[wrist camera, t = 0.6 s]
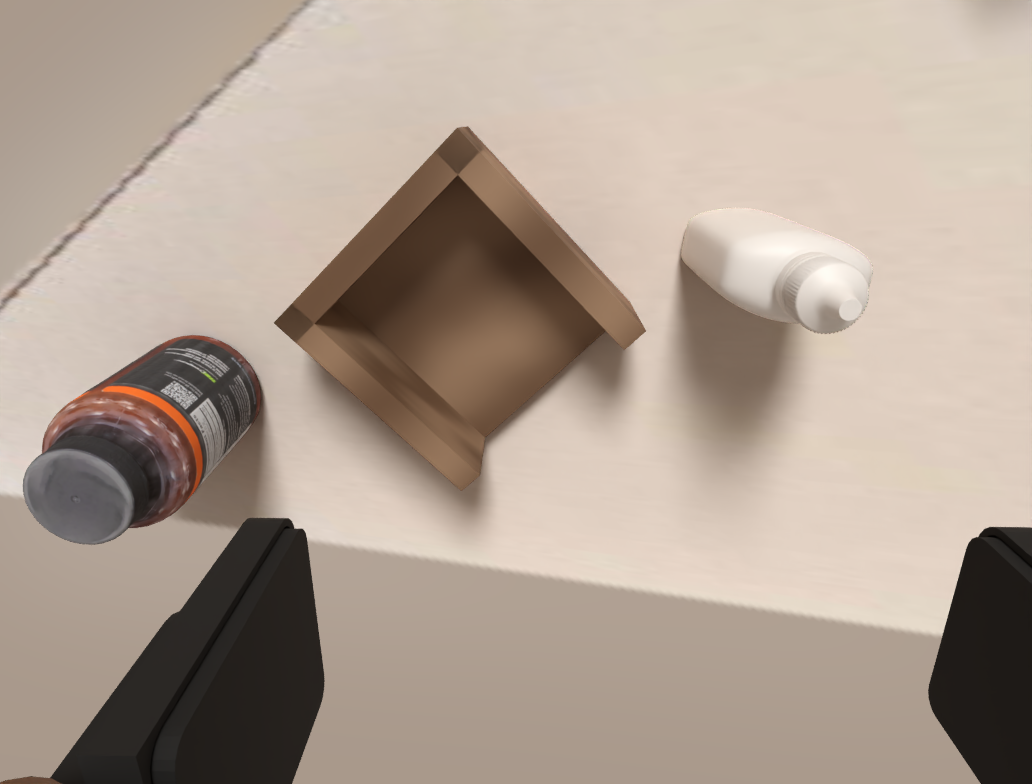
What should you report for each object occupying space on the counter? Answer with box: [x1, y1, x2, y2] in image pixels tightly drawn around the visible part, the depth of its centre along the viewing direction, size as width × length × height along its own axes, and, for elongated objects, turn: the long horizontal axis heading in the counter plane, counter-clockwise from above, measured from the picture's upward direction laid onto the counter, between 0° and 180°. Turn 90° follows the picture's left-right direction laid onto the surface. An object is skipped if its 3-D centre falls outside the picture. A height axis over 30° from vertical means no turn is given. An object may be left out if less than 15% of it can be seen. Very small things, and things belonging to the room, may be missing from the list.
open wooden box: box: [274, 127, 646, 491], centre depth 31 cm, size 11×11×5 cm
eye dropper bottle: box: [681, 208, 873, 334], centre depth 27 cm, size 4×6×12 cm
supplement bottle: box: [23, 335, 261, 544], centre depth 30 cm, size 6×6×11 cm
